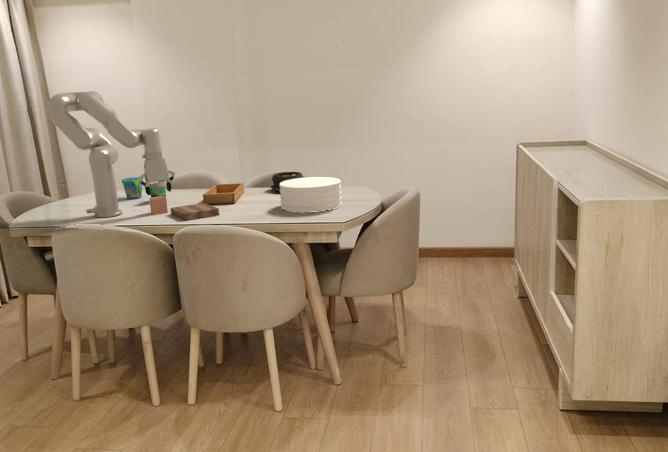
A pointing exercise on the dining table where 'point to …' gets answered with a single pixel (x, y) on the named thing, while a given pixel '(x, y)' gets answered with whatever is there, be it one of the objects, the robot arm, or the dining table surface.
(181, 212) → the walnut base
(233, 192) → the tray
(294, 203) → the plate stack
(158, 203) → the terracotta block
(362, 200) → the dining table surface
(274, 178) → the casserole
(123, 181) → the snack cup
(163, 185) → the food container
